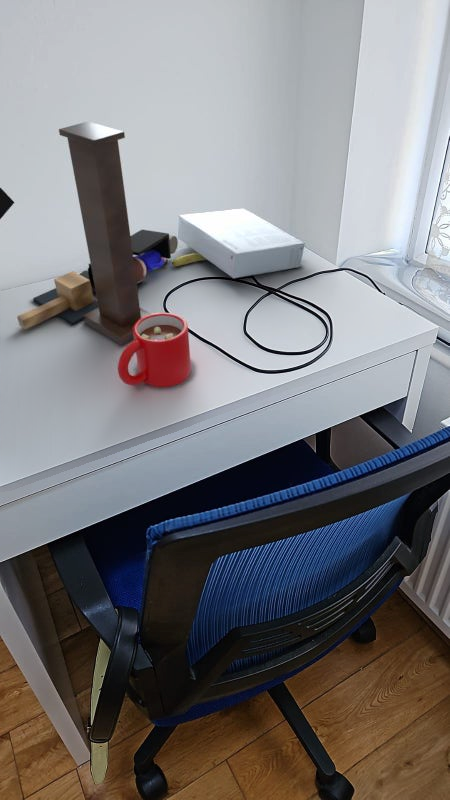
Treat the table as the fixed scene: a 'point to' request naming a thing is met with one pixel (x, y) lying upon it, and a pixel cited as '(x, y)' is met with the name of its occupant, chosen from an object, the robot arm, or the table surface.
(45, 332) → the table surface
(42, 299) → the mat
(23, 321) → the wooden toy mallet
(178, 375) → the mug
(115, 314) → the stand
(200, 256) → the banana
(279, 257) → the skincare box
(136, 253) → the figurine character
